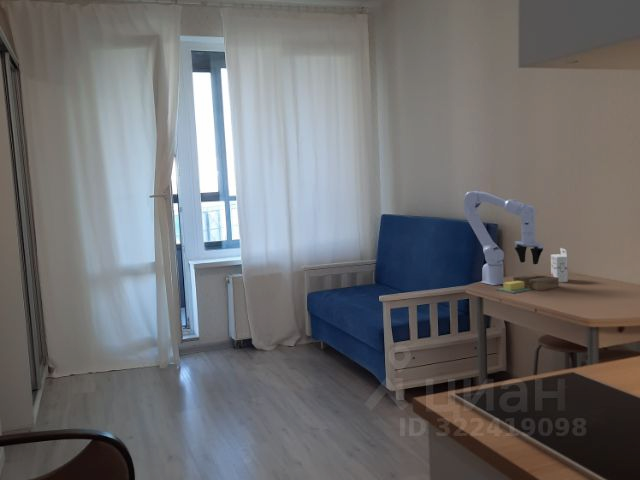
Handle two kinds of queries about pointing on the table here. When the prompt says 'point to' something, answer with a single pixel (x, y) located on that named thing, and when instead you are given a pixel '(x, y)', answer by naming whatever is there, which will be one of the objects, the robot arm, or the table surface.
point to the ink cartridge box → (559, 266)
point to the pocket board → (538, 281)
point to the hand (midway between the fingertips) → (529, 263)
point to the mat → (514, 290)
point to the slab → (513, 285)
